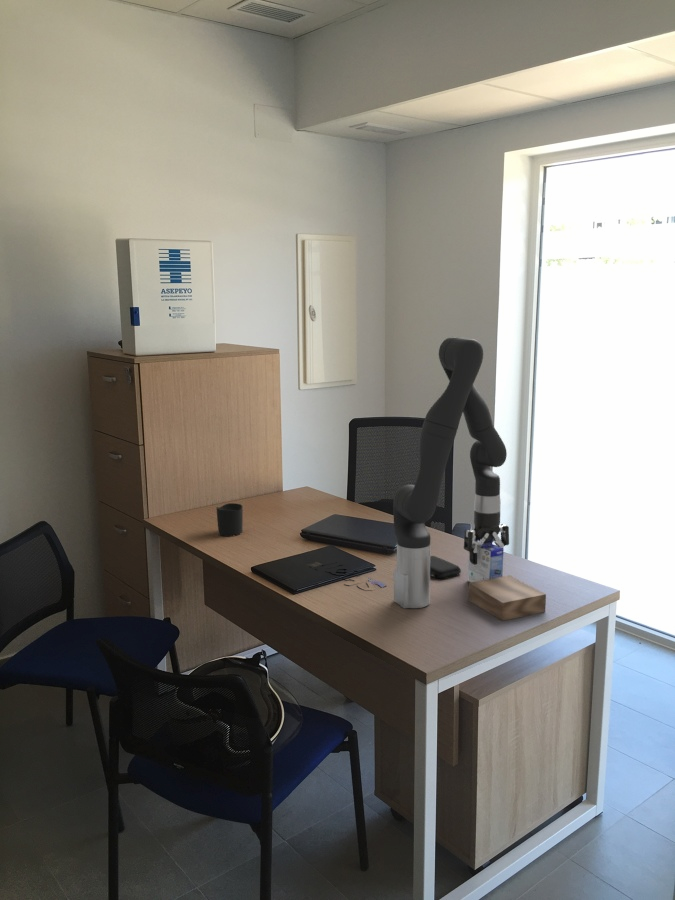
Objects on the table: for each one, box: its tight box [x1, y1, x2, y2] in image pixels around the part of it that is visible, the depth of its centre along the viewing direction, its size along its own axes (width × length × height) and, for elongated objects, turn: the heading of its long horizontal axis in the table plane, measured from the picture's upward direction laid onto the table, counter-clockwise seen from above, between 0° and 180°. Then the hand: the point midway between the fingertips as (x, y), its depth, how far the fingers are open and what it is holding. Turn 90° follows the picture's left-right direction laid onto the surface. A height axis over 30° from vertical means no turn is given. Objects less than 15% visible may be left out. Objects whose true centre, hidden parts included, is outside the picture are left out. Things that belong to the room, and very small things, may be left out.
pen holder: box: [216, 502, 244, 537], centre depth 282 cm, size 9×9×10 cm
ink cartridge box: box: [467, 538, 505, 583], centre depth 228 cm, size 10×6×14 cm, turn 32°
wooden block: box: [468, 575, 547, 621], centre depth 213 cm, size 14×16×5 cm
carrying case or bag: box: [430, 555, 462, 580], centre depth 241 cm, size 11×3×15 cm
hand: (486, 561), depth 228 cm, fingers open, 8 cm apart
